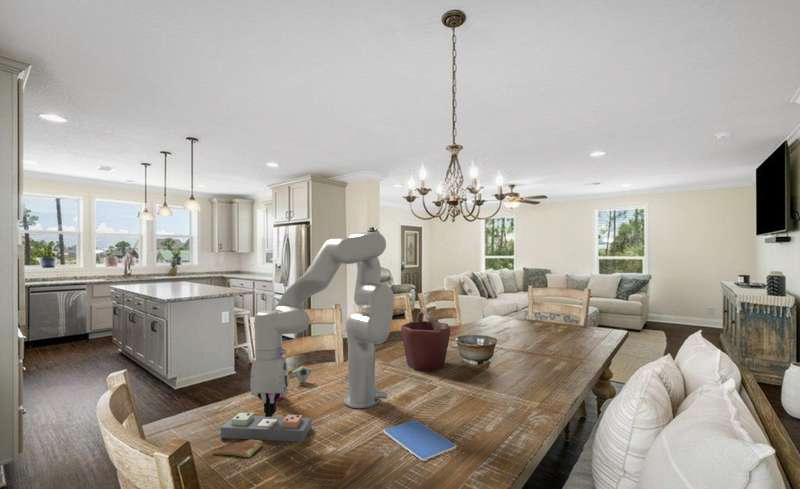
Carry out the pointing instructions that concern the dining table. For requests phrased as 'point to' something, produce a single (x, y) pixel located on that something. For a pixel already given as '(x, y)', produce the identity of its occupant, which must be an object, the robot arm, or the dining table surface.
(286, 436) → the key panel
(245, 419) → the key two pips
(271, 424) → the key one pip
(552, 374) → the dining table surface
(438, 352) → the bucket
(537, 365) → the dining table surface
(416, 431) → the tablet computer
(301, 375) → the pig figurine
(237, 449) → the shard
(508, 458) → the dining table surface
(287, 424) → the key three pips
